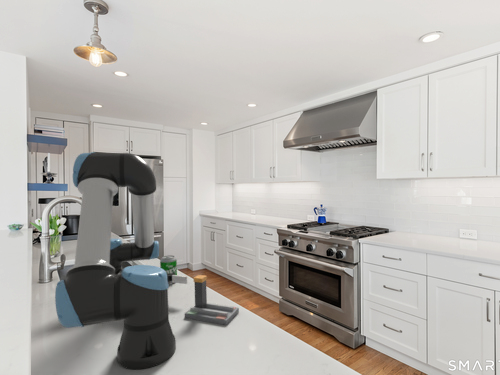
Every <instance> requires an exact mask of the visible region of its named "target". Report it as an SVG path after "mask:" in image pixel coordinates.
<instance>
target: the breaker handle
mask: <svg viewBox="0 0 500 375" xmlns="http://www.w3.org/2000/svg"><path fill="white" fill-rule="evenodd" d="M207 280H208V276H207V275H204V274H203V275H202V274H197V275H196V276H194V277H193V282H194V306H195V307H197V308H203V309H205V308H206V307H207V303H208V300H207V298H208V296H207Z"/></svg>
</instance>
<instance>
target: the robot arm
mask: <svg viewBox="0 0 500 375" xmlns="http://www.w3.org/2000/svg"><path fill="white" fill-rule="evenodd" d="M156 179H157V178H156V176H155V174H154V171H153V169H152V168H151V166H150V165H149V164H148V163H147V162H146V161H145V160H144V159H143V158H142V157H140V156H139V155H136V154H134V153H132V152H131V153H130V152H129V153H128V152H121V153H120V152H94V151H91V152H82V153H80V154H78V155H77V157H76V158H75V161H74V162H73V166H72V182H73V185H74V187H75V188H77V190H78V192H79V193H80V194H81V195H82V196H81V205H80V213H79V215H80V216H79V223H78V232H77V237H76V238H77V239H76V248H75V257H74V265H73V266H71V268H69V269H67V271H66V274H65V275H66V277H65V279H61V280H59V281H58V282H57V283H56V287H55V296H54V298H55V299H54V301H55V310H56V316H57V319H58V321H59V323H60V325H61V326H62V327H64V328H66V329H67V328H68V329H71V328H78V327H79V328H80V327H81V328H84V327H85V326H91V325H97V324H103V323H111V322H116V321H117V322H118V321H122V320H123V330H122V333H121V336H120V341H119V345H118V346H117V350H116V360H117V364H119V365H120V366H121V367H123V368H125V369H130V370H143V369H148V368H149V369H150V368H152V367H156V366H158V365H160V364H163V363H164V362H166V361H167V360H169V359H170V358H171V357H172V356H173V355H174V354H175V352H176V348H177V345H176V344H177V343H176V342H177V340H176V337H175V334H174V333H173V329H172V326H171V324H170V323H171V322H170V319H169V318H170V317H169V296H168V295H169V292H168V289H169V285H170V284H168V282H170V281H172V282H174V283H173V284H175V283H176V284H181V285H183V284H184V285H186V284H188V276H185V275H178V274H177V275H175V273H166V271H165V270H164V269H162V268H160V266H156V265H148V264H134V265H131V266H130V265H129V266H126V267H124V268H123V263H124V262H126V263H128V262H134V261H135V262H136V261H137V262H138V261H147V260H148V261H149V260H154V259H158V258H159V256H160V244H159V240H155V215H154V213H155V212H154V211H155V207H154V205H155V204H154V193H156V191H157V180H156ZM126 187H127V189H128V190H127V191H128V192H129V194H131V203H132V206H131V208H132V221H133V222H132V223H133V235H134V236H133V237H134V242H123V241H122V239H121V238H112V221H113V220H112V219H113V203H114V202H113V201H114V197H115V196H116V194H118V192H119V188H126Z"/></svg>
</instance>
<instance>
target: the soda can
mask: <svg viewBox="0 0 500 375" xmlns="http://www.w3.org/2000/svg"><path fill="white" fill-rule="evenodd" d="M177 260H178V259H177V257H176V256H175V255H171V254H170V255H169V254H167V255H165V256H162V257H161V258H160V259H159V262H160V263H159V264H160V265H159V267H160V268H162V269H164V270H165V271H166V273H175V275H178V267H177V266H178V264H177ZM171 283H172V284H175V283H174V282H172V281H170V282H168V285H172V284H171Z"/></svg>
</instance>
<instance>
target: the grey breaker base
mask: <svg viewBox="0 0 500 375" xmlns="http://www.w3.org/2000/svg"><path fill="white" fill-rule="evenodd" d="M239 309H240V308H239V307H236V306H232V305H226V304H225V305H224V304H219V303H212V302H207V307H206V308H205V309H203V308H197V307H195V305H194V306H191V307H190V308H189V309H188V310H187V311H186V312H184V319H190V320H195V321H201V322H202V321H203V322H206V323H207V322H208V323H214V324H220V325H226V326H227V325H228V324H229V323H230V322H231V321H232V320H233V319H234V317H236V316H237V314H239V312H240V310H239Z"/></svg>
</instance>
